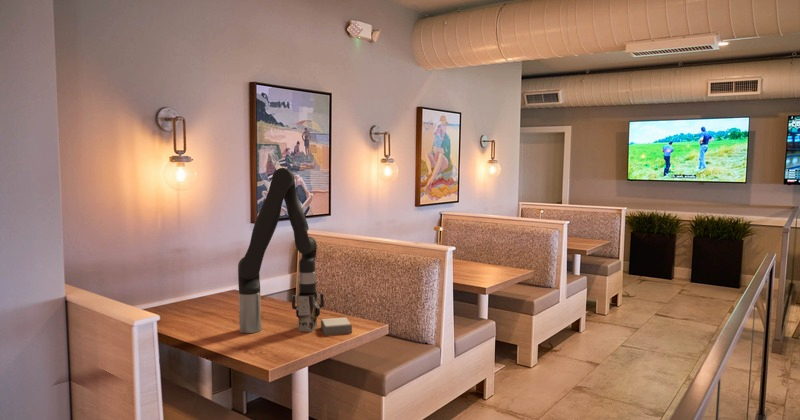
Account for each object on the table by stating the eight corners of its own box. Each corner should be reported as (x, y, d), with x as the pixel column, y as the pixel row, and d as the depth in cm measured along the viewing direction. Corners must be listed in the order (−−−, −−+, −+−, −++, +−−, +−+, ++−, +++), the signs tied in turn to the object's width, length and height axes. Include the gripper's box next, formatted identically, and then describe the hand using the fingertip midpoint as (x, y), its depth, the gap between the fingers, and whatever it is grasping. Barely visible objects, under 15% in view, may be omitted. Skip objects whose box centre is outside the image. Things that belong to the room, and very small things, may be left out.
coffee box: (312, 332, 249) (311, 296, 248) (298, 331, 250) (297, 295, 249) (317, 326, 258) (317, 291, 257) (304, 325, 259) (303, 291, 258)
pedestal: (324, 335, 244) (324, 326, 244) (321, 327, 256) (320, 319, 256) (351, 333, 248) (351, 324, 247) (347, 325, 259) (346, 317, 259)
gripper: (292, 284, 247) (292, 320, 248) (324, 282, 251) (325, 318, 252) (290, 280, 254) (291, 316, 256) (322, 279, 258) (322, 313, 259)
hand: (308, 317), depth 254 cm, fingers closed on coffee box, 8 cm apart
